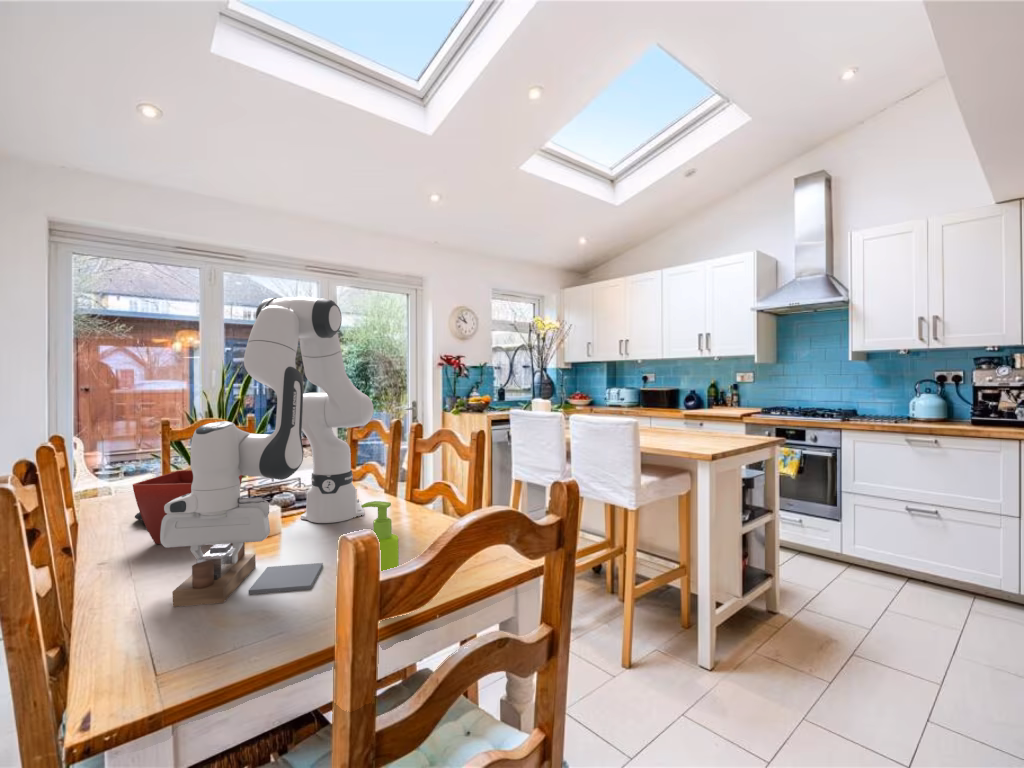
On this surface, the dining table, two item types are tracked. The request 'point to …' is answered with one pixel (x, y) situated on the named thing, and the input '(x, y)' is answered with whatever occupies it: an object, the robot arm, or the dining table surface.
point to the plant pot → (161, 497)
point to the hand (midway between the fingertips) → (217, 563)
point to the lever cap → (219, 558)
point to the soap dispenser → (385, 535)
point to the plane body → (213, 582)
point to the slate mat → (286, 578)
